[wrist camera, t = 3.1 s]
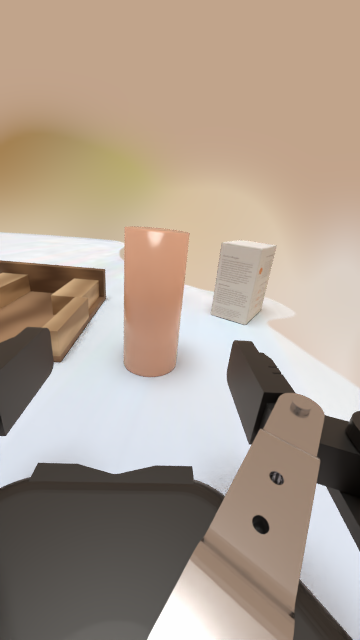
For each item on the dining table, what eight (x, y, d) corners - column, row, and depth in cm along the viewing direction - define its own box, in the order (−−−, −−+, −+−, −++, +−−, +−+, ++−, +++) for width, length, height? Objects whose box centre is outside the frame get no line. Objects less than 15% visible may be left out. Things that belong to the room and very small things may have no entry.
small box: (229, 302, 43) (241, 239, 39) (261, 311, 41) (277, 244, 37) (209, 315, 37) (220, 241, 33) (245, 326, 34) (262, 247, 30)
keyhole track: (-121, 352, 21) (-143, 301, 20) (5, 290, 38) (-1, 260, 36) (60, 361, 23) (55, 315, 21) (105, 298, 39) (105, 269, 37)
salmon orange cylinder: (119, 375, 22) (119, 229, 17) (127, 346, 26) (129, 225, 22) (176, 378, 22) (192, 236, 17) (175, 349, 27) (187, 231, 22)
